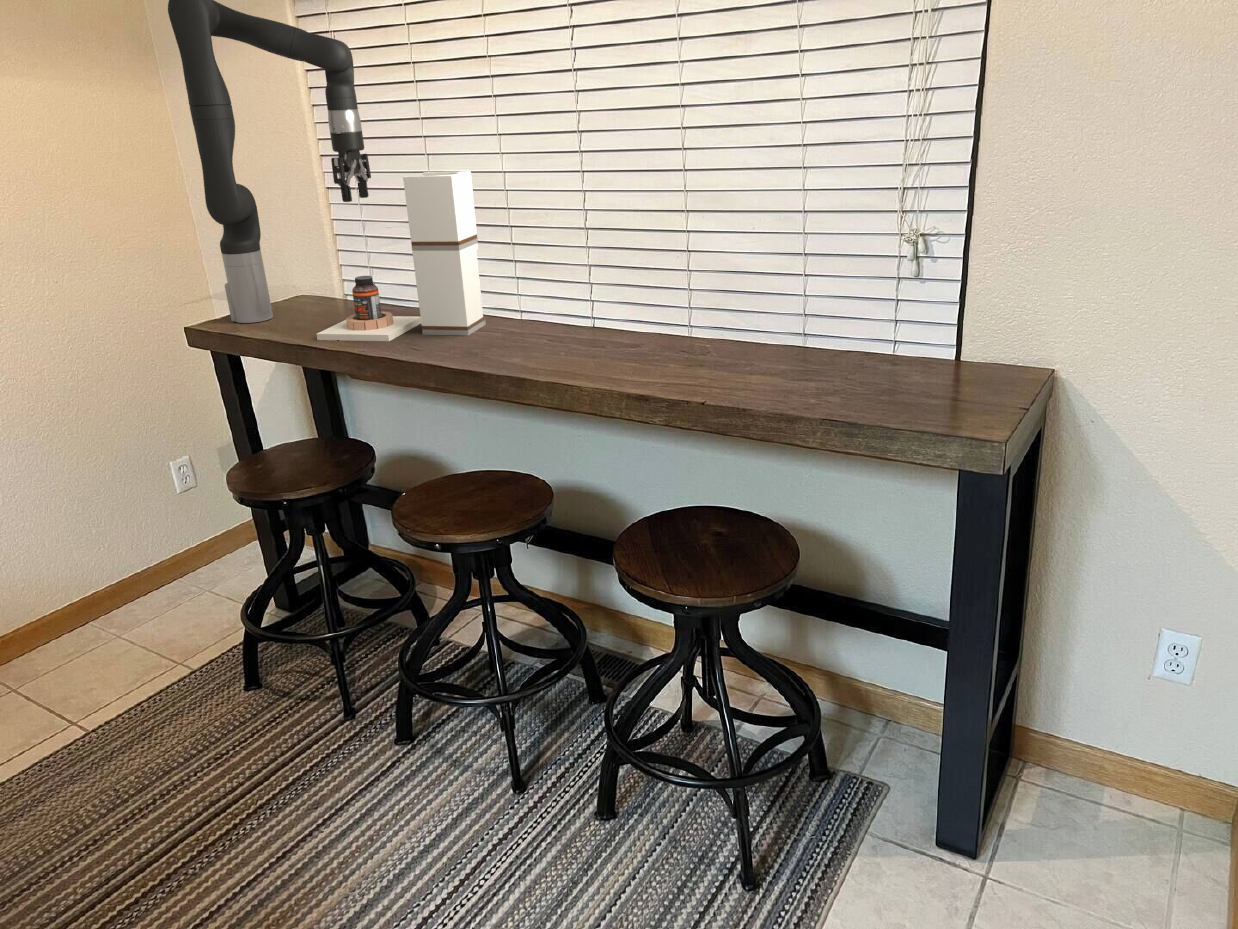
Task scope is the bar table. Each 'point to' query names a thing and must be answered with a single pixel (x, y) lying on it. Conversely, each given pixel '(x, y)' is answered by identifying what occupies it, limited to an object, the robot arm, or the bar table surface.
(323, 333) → the collar mount
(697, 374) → the bar table surface
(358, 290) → the supplement bottle
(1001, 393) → the bar table surface
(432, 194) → the white striped pillar
